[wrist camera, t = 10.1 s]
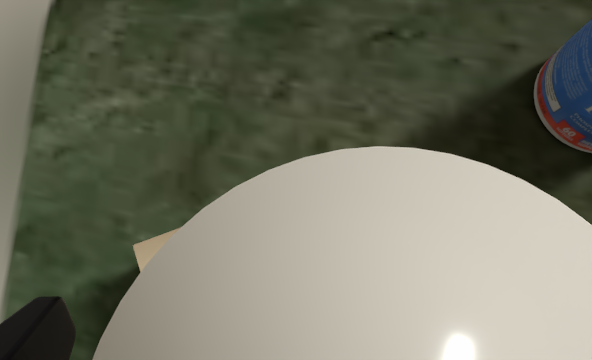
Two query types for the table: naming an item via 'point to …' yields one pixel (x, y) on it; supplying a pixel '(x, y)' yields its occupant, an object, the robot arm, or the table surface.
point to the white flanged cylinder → (367, 268)
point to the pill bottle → (568, 91)
